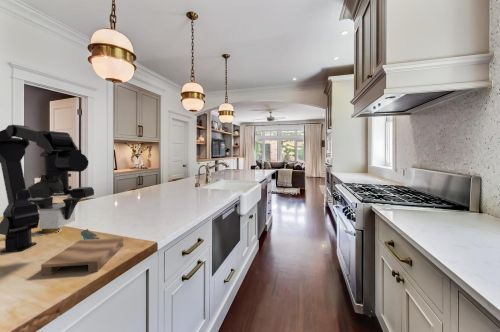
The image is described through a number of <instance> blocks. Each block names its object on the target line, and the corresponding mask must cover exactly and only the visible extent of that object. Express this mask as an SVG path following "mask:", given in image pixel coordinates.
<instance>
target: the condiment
mask: <svg viewBox="0 0 500 332" xmlns="http://www.w3.org/2000/svg"><path fill="white" fill-rule="evenodd" d="M55 204H59V203H58V202H53V204H52V205H55ZM58 231H59V232H58ZM55 232H57V233H62V232H63V229H62V227H60V228H52V229H40V230H35V231H34V237H39V236H44V235H53V234H56V233H55ZM50 233H51V234H50Z"/></svg>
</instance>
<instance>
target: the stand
mask: <svg viewBox="0 0 500 332" xmlns="http://www.w3.org/2000/svg"><path fill="white" fill-rule="evenodd" d="M123 247H124V237H116V238H115V237H112V238H110V237H109V238H100V239H87V240H84V239H79V240H78V241H76V242H75V243H73V244H71V245H70V246H69V247H66V248H65V249H64V250H63V251H61V252H59V253H57V254H56V255H55V256H52V257H51V258H49V259H48V260H46V261H45V262H43V263H42V264H41V265H40V267H41V269H40V271H41V272H40V273H41V276H52V275H53V274H54V273H56V272H58V271H59V270H60V269H61V268H62V267H69V266H70V267H71V266H87V265H88V267H87V268H88V273H92V272H93V273H94V272H99V271H100V270H101V269H102V268H103V267H104V266H105V265H106V264H107V263H108V262H109V261H110V260H111V259H112V258H113V257H114V256H115V255H116V254H117V253H118V252H119V251H120V250H121V249H122V248H123Z"/></svg>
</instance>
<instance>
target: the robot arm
mask: <svg viewBox="0 0 500 332" xmlns="http://www.w3.org/2000/svg"><path fill="white" fill-rule="evenodd" d="M31 142H33V143H36V146H37V147H39V148H40V149H43V150H44V151H43V152H41V153H40V154H39V156H40V157H41V158H43V167H44V169H43V170H44V172H43V173H44V174H41V176H40V180H39V181H37V182H35V183H33V184H32V185H31V186H29V187H27V186H26V182H25V181H26V180H25V176H24V171H23V166H22V162H21V161H22V159H23V158H24V156H25V155H26V150H27V148H28V147H29V145H30V143H31ZM75 143H76V142H74V140H73V138H72V137H71V135H70V133H68V132H63V131H53V130H41V129H38V128H34V127H30V126H28V125H20V124H9V125H8V126H6V128H4V129H3V130H0V167H1V172H2V176H3V181H4V187H5V193H6V197H7V203H8V204H7V206H6V208H5V209H4V211H3V212H2V214H3V215H2V217H3V218H2V220H1V221H0V235H3V236H5V239H4V246H5V247H4V248H3V249H1V250H0V253H4V252H5V253H7V252H22V251H25V250H26V249H29V248H31V247H33V246H36V245H37V242H36V241H35V242H32V240H33V239H32V237H33V236H32V229H38V227H39V224H40V221H39V209H42V208H45V207H48V206H52V204H53V203H54V197H61V196H63V197H64V196H66V197H67V198H65V199H62V201H63V203H65V216H66V220H68V219H70V217H71V214H72V212H73V210H74V208H76V206H77V205H78V204H79V201H80V200H81V199H86V198H88V197H92V196H94V195H95V190H94V188H93V187H92V186H81V187H80V186H79V187H76V188H75V187H74V188H72V185H69V184H70V183H69V182H70V180H69V179H70V177H72V173H70V172H73V173H74V172H75V173H77V172H78V173H81V172H84V171H85V170H86V169H87V168H88V167H89V159H88V158H87V156H86V155H85V154H83V153H82V150H81V149H79V148H78V146H77V145H76V144H75ZM29 199H30V200H29ZM38 207H39V209H38Z"/></svg>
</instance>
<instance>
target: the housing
mask: <svg viewBox="0 0 500 332" xmlns="http://www.w3.org/2000/svg"><path fill="white" fill-rule="evenodd" d="M75 208H76V207H75ZM75 208H74V210H73V212H72V214H71V217H70V219H68V220H66V216H65V203H64V202H63V203H62V202H61V203H58V204H55V205H52V206H48V207H45V208H42V209H40V208H39V209H38V212H39V230H42V229H52V228H60V227H61V228H62V227H64V226H66V225H69V224H70V223H73V222H75V221H76V216H75V215H76V214H75V213H76V212H75V211H76V210H75Z"/></svg>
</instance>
